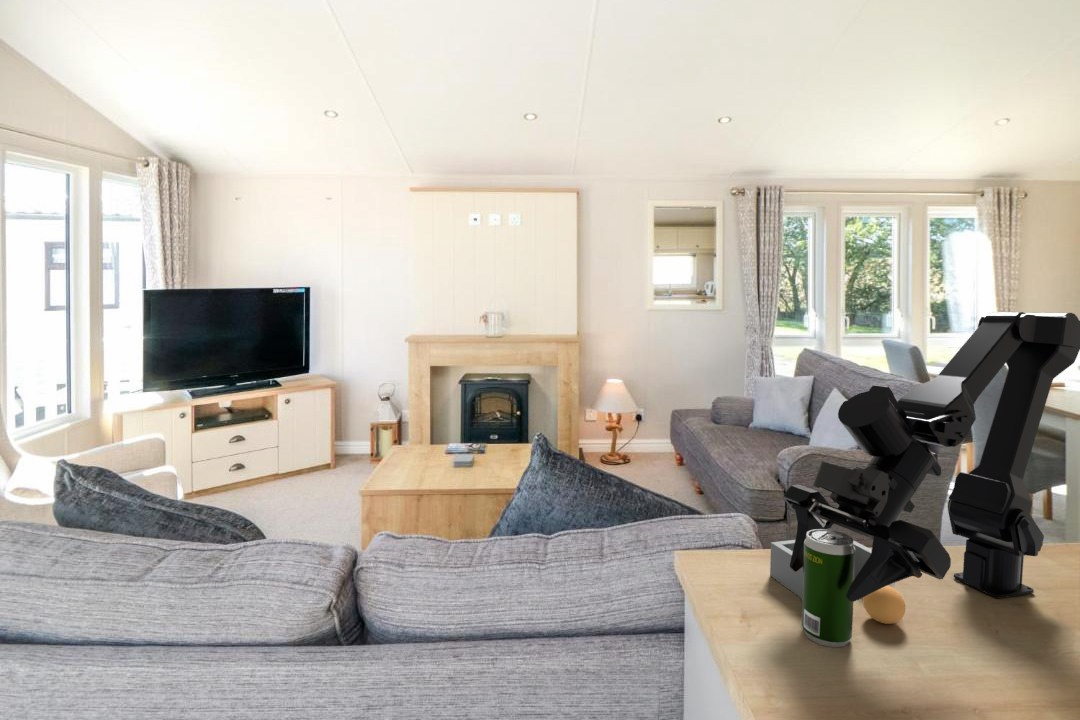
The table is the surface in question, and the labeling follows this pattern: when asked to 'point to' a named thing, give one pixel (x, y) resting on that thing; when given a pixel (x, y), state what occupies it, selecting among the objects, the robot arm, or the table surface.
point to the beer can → (827, 587)
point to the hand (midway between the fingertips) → (819, 583)
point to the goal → (794, 580)
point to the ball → (885, 605)
